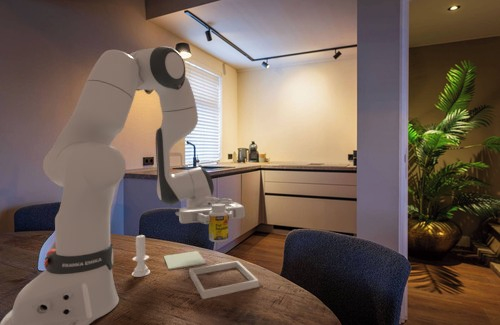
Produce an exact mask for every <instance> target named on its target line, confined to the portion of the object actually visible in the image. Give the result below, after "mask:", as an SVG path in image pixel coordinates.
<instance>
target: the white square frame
mask: <svg viewBox="0 0 500 325" xmlns="http://www.w3.org/2000/svg"><path fill="white" fill-rule="evenodd" d="M234 268H235V269H237V270H238V271H239V272H240V273H241V274H242V275H243V276H244V277H245V278H246V279H247V281H243V282H238V283H232V284H228V285H224V286H217V287H213V288H207V289H205V288H204V287H203V284H202V283H201V281H200V279H199V278H198V276H197V275H201V274H202V275H203V274H207V273H213V272H218V271H224V270H225V271H226V270H229V269H234ZM188 272H189V274H188V275H189V277H190V278H191V280H192V283H193V284H194V286H195V287H196V290H197V292H198V293H199V295H200V297H201V299H202V300H205V299H210V298H214V297H220V296H223V295H229V294H232V293H237V292H241V291H246V290H247V291H248V290H250V289H255V288H259V286H260V285H259V284H260V280H259V279H258V278H257V277H256V276H255V274H252V273H251V271H249V270H248V268H246V267H245V266H244V264H242V263H241V262H240V261H239V260H235V261H228V262H222V263H217V264H211V265H204V266H200V267H193V268H189V270H188Z"/></svg>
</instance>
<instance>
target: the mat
mask: <svg viewBox="0 0 500 325" xmlns="http://www.w3.org/2000/svg"><path fill="white" fill-rule="evenodd" d="M163 259H164V262H165V264H166V266H167V270H168V271H171V270H177V269H182V268H188V267H189V268H190V267H195V266H201V265H206V264H207V262H206V260H205V259H204V258H203V256H202V255H201V254H200V252H199V250H196V251H195V250H194V251H188V252H187V251H186V252H182V253H173V254H167V255H163Z"/></svg>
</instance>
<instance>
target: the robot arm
mask: <svg viewBox="0 0 500 325" xmlns="http://www.w3.org/2000/svg"><path fill="white" fill-rule="evenodd" d="M143 90H144V91H149V90H150V91H153V90H154V92H156V94H157V96H158V97H159V103H160V108H161V113H162V114H161V115H162V116H161V117H162V120H161V125H160V127H159V128H158V129H157V130H156V132H155V158H156V173H157V175H156V179H157V180H156V181H157V182H156V193H157V197H158V199H159V200H160V202H162V203H164V204H166V205H169V206H172V205H176V204H178V203H180V202H182V201H186V206H185V207H184V206H183V207H180V208H179V210H178V211H176V212H175V215H176V216H177V217H178V218H179V223H180V224H191V223H192V224H194V223H200V224H204V225H209V222H210V216H209V212H210V211H212V209H211V208H212V205H213V204H225V211H227V212H228V221H233V220H236V219H244V217H245V214H246V213H245V206H244V205H242V204H241V203H239V202H235V201H233V199H232V198H223V197H215V196H213V195H214V191H215V185H214V181H213V178H212V176H211V174H210V173H209V172H208V171H207V170H206V169H205V168H203V167H201V166H198V167H194V168H190V169H186V170H183V171H180V172H176V173H171V163H170V162H171V161H170V159H171V158H170V156H171V155H170V153H171V150H172V148H173V147H174V146H175V145H176V144H177V143H178V142H180V141H181V140H182V139H184V138H186V137H188V136H189V135H190V134H191V133H192V132H193V131H194V130H195V129H196V127H197V124H198V121H199V115H198V109H197V103H196V100H195V95H194V92H193V89H192V87H191V84H190V81H189V79H188V77H187V76H186V64H185V61H184V58H183V57H182V55H181V54H180V53H179V51H177V50H176V49H175V48H173V47H170V46H158V47H153V48H143V49H142V48H141V49H139V50H136V51H133V52H131V53H130V52H129V53H127V52H124V51H122V50H118V49H110V50H109V49H108V50H105V51H104V52H103V53H102V54H101V55H100V57H99V58H98V59H97V61H96V62H95V64H94V66H93V67H92V69H91V71H90V73H89V75H88V77H87V79H86V81H85V84H84V87H83V89H82V91H81V93H80V96H79V99H78V101H77V104H76V105H75V108H74V110H73V113H72V114H71V116H70V118H69V119H68V121H67V122H66V124H65V126H64V127H63V128H62V131H61V132H60V134H59V135H58V137H57V138H56V140H55V142H54V144H53V146H52V147H51V149H50V150H49V152H48V153H47V154H46V155H45V157H44V159H43V163H42V169H43V172H44V174H45V175H46V177H48V179H49V180H50V181H51V182H52V183H54V184H56V185H58V186H59V187H62V188H63V190H62V196H61V199H60V200H61V201H60V206H59V210H58V211H57V213H56V215H55V218H54V226H55V227H54V228H55V229H54V232H55V234H54V235H55V236H54V238H55V248H51V249H49V251H48V252H46V257H45V258H44V262H43V263H44V264H43V265H44V268H45V269H44V270H43V271H42V272H40V274H39V275H37V276H36V277H34V278H33V279H32V280H31V281H29V282H28V283H27V284H26V285H25V286H24V287H23V288H22V289H21V290H20V291H19V293H18V294H17V295H16V298H15V300H14V303H13V307H12V309H11V310H10V311H9V312H8V313H7V314H5V316H4V317H3V318H2V320H1V321H0V325H90V324H91V323H93V322H94V321H96V320H98V319H99V318H101V317H103V316H105V315H106V314H108V313H109V312H111V311H112V310H113V309H114V308H116V307H117V305H118V303H119V301H120V298H119V296H118V292H117V288H116V286H115V281H114V276H113V267H114V249H113V243H111V213H112V212H111V211H112V207H113V206H112V205H113V202H114V197H115V194H116V190H117V186H118V185H119V183H120V182H121V181H122V180H123V178H125V174H126V170H127V164H126V159H125V157H124V155H123V153H122V152H121V151H120V150H118V148H116V147H114V146H111V144H112V142H113V141H114V140H115V138H116V137H117V136H118V135H120V133H121V132H122V131H123V129H124V128H125V124H126V122H127V119H128V117H129V114H130V111H131V107H132V104H133V101H134V98H135V96H136V92H137V91H138V92H139V91H143Z"/></svg>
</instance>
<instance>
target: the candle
mask: <svg viewBox="0 0 500 325" xmlns="http://www.w3.org/2000/svg"><path fill="white" fill-rule="evenodd" d="M135 251H136V255H135V256H134V257H132V261H134V262H137V263H136V266H135V268H134V269H133V272H132V273H131V276H132V277H135V278H139V277H140V278H141V277H145V276H148V275H149V274H150V273H151V270H150V269H149V267H148V266H147V265H146V263H145V261H147V260H148V259H149V258H150V256H149V255H146V236H145V235H143V234H140V235H137V236H135Z"/></svg>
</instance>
